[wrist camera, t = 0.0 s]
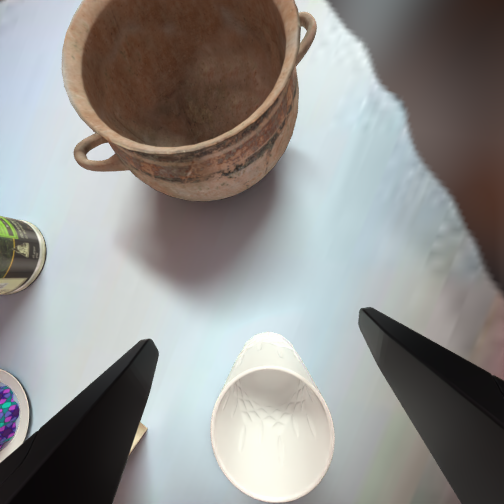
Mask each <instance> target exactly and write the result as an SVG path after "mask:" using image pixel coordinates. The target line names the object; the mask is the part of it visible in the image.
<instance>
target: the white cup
mask: <svg viewBox="0 0 504 504" xmlns="http://www.w3.org/2000/svg"><path fill="white" fill-rule="evenodd" d="M211 442H212V447H213V451H214V454H215V457H216V460H217V462H218V464H219V466H220V468H221V470H222V471H223V473H224V474H225V476H226V477H227V478H228V479H229V481H230V482H231V483H232V484H233V485H234V486H235V487H236V488H238V489H239V490H240V491H242V492H243V493H245V494H246V495H248V496H250V497H252V498H254V499H257V500H260V501H264V502H269V503H284V502H289V501H293V500H296V499H298V498H300V497H302V496H304V495H306V494H307V493H309V492H310V491H311V490H313V489H314V488H315V487H316V486H317V485H318V484H319V482H320V481H321V480H322V478H323V477H324V475H325V474H326V472H327V470H328V468H329V465H330V463H331V460H332V456H333V451H334V442H335V436H334V426H333V421H332V417H331V414H330V411H329V409H328V407H327V404H326V402H325V401H324V399H323V397H322V395H321V393H320V392H319V390H318V388H317V386H316V384H315V382H314V381H313V379H312V377H311V375H310V373H309V371H308V369H307V368H306V366H305V364H304V363H303V361H302V359H301V358H300V356H299V355H298V353H297V352H296V351H295V349H294V347H293V345H292V344H291V343H290V342H289V341H288V340H287V339H285V338H284V337H283V336H282V335H280V334H276V333H272V332H264V333H259V334H256V335H254V336H253V337H252V338H251V339H249V340H248V341H247V342H246V343H245V345H244V347H243V349H242V351H241V352H240V354H239V355H238V357H237V359H236V361H235V362H234V365H233V367H232V369H231V371H230V373H229V375H228V377H227V380H226V382H225V384H224V386H223V388H222V390H221V392H220V395H219V397H218V399H217V401H216V403H215V406H214V409H213V413H212V418H211Z"/></svg>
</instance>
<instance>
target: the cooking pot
mask: <svg viewBox="0 0 504 504" xmlns="http://www.w3.org/2000/svg"><path fill="white" fill-rule="evenodd" d="M301 26H303V27H304V28H305V29H306V30H307V32H306V35H305V37H304V38H303V40H302V42H301V43H300V32H301ZM316 29H317V25H316V21H315V19H314V17H313V16H312V15H311V14H309V13H307V12H300V13H298V9H297V6H296V4H295V1H294V0H83V1H82V2H81V4H80V6H79V7H78V9H77V11H76V12H75V14H74V16H73V18H72V20H71V23H70V25H69V28H68V30H67V32H66V36H65V41H64V45H63V50H62V75H63V81H64V87H65V89H66V92H67V94H68V97H69V100H70V102H71V104H72V106H73V107H74V109H75V110H76V112H77V113H78V115H79V117H80V118H81V119H82V120H83V121H84V122H85V123H86V124H87V125H88V126H89V127H90V128H91V129H92V130H93V131H94V132H95V134H93V135H91V136H89V137H87V138H85V139H84V140H82V141H81V142H79V143H78V144H77V145H76V147H75V149H74V157H75V160H76V161H77V163H78V164H79V165H80V166H81V167H83V168H85V169H87V170H91V171H102V172H106V171H125V170H130V171H131V172H132V173H133V174H134V175H135V176H136V177H137V178H139V179H140V180H141V181H143V182H144V183H146V184H147V185H149V186H150V187H152V188H153V189H155V190H157V191H159V192H162V193H164V194H166V195H169V196H171V197H175V198H180V199H184V200H189V201H212V200H220V199H224V198H227V197H231V196H234V195H237V194H239V193H241V192H243V191H245V190H247V189H249V188H250V187H252V186H253V185H254V184H256V183H257V182H259V181H260V180H261V179H263V178H264V177H265V176H266V174H267V173H268V172H269V171H270V170H271V169H272V168H273V167H274V166H275V165H276V163H277V162H278V160H279V159H280V158H281V156H282V155H283V153H284V152H285V150H286V148H287V145H288V143H289V141H290V139H291V137H292V134H293V130H294V126H295V122H296V118H297V113H298V98H299V88H298V79H297V72H296V66H297V65H298V63H299V62H300V61H301V59H302V58H303V57H304V55H305V54H306V53H307V51H308V49H309V48H310V46H311V44H312V42H313V40H314V38H315V35H316ZM103 143H109V144H110V146H111V147H112V149H113V150H114V152H115V154H114V155H113V156H112V157H110V158H109V159H107V160H103V161H93V160H88V159H87V157H86V154H87V153H88V152H89V151H90V150H91V149H93V148H95V147H97V146H99V145H101V144H103Z"/></svg>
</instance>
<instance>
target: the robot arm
mask: <svg viewBox="0 0 504 504" xmlns="http://www.w3.org/2000/svg"><path fill="white" fill-rule="evenodd" d="M358 324H359V328H360V330H361V332H362V334H363V336H364V338H365V341H366V343H367V345H368V347H369V349H370V351H371V353H372V355H373V357H374V359H375V361H376V363H377V365H378V367H379V369H380V370H381V372H382V374H383V375H384V377H385V379H386V380H387V382H388V384H389V385H390V387H391V388H392V390H393V392H394V393H395V395H396V397H397V398H398V400H399V402H400V403H401V405H402V407H403V408H404V410H405V411H406V413H407V415H408V416H409V418H410V420H411V421H412V423H413V425H414V426H415V428H416V430H417V431H418V433H419V434H420V436H421V438H422V439H423V441H424V443H425V444H426V446H427V448H428V449H429V451H430V453H431V454H432V456H433V457H434V459H435V461H436V462H437V464H438V466H439V467H440V469H441V471H442V472H443V474H444V476H445V477H446V479H447V481H448V482H449V484H450V485H451V487H452V489H453V490H454V492H455V494H456V495H457V497H458V499H459V500H460V502H461V504H504V380H502V379H500V378H498V377H496V376H494V375H491V374H490V373H489V372H487V371H485V370H484V369H482V368H480V367H478V366H476V365H475V364H473V363H471V362H469V361H467V360H466V359H464V358H462V357H460V356H458V355H457V354H455V353H453V352H451V351H449V350H448V349H446V348H444V347H442V346H440V345H439V344H437V343H435V342H433V341H431V340H430V339H428V338H426V337H424V336H422V335H421V334H419V333H417V332H415V331H413V330H412V329H410V328H408V327H406V326H404V325H403V324H401V323H399V322H397V321H395V320H394V319H392V318H390V317H388V316H386V315H385V314H383V313H381V312H379V311H377V310H376V309H374V308H371V307H366V308H361V309H360V311H359V321H358ZM158 356H159V352H158V349H157V348H156V346H155V344H154V342H153V341H152V340H151V339H144V340H141V341H139V342H138V343H137V344H136V345H135V346H133V347H132V348H131V349H130V350H129V351H128V352H127V353H125V354H124V355H123V356H122V357H121V358H120V359H119V360H117V361H116V362H115V363H114V364H113V365H112V366H111V367H109V368H108V369H107V370H106V371H105V372H104V373H103V374H101V375H100V376H99V377H98V378H97V379H96V380H95V381H93V382H92V383H91V384H90V385H89V386H88V387H87V388H85V389H84V390H83V391H82V392H81V393H80V394H79V395H78V396H76V397H75V398H74V399H73V400H72V401H71V402H70V403H68V404H67V405H66V406H65V407H64V408H63V409H62V410H60V411H59V412H58V413H57V414H56V415H55V416H54V417H52V418H51V419H50V420H49V421H48V422H47V423H46V424H44V425H43V426H42V427H41V428H40V429H39V431H36V432H35V433H34V434H33V435H32V436H31V437H30V438H28V439H27V440H26V441H25V442H24V443H23V444H22V445H20V446H19V447H18V448H17V449H16V450H15V451H13V452H12V453H11V454H10V455H9V456H8V457H6V458H5V459H4V460H3V461H2V462H1V463H0V504H112V503H113V500H114V497H115V494H116V491H117V488H118V485H119V482H120V479H121V476H122V473H123V471H124V468H125V465H126V462H127V459H128V456H129V453H130V450H131V447H132V444H133V441H134V438H135V435H136V432H137V429H138V426H139V423H140V420H141V417H142V415H143V412H144V409H145V406H146V403H147V400H148V396H149V393H150V389H151V385H152V381H153V377H154V373H155V369H156V365H157V361H158Z"/></svg>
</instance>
